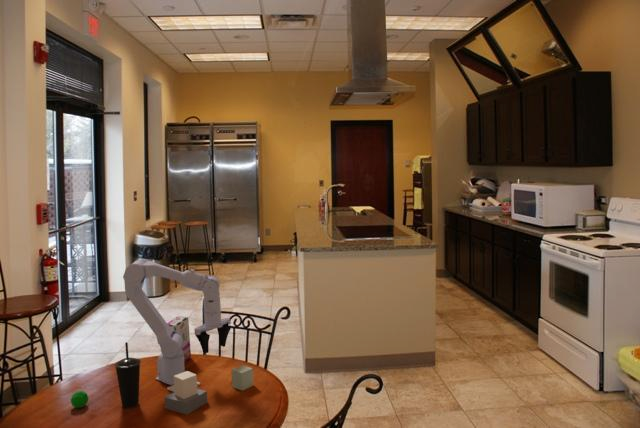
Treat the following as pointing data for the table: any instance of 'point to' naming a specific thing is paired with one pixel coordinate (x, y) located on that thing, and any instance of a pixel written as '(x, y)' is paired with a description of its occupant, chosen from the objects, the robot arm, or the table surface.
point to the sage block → (242, 377)
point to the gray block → (185, 402)
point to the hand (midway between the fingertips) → (214, 349)
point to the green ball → (79, 399)
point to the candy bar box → (182, 333)
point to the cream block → (185, 384)
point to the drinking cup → (128, 380)
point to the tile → (173, 387)
